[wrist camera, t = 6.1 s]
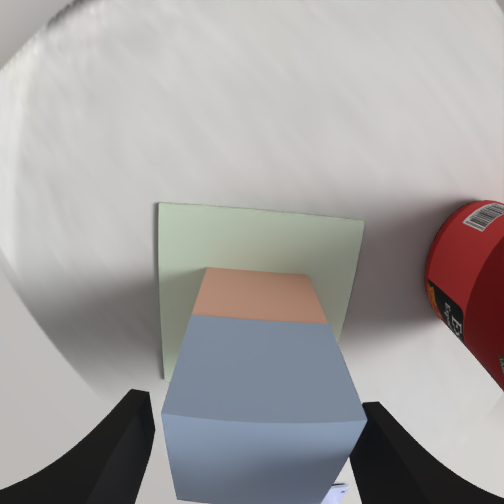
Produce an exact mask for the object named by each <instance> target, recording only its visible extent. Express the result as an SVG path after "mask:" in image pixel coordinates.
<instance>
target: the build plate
mask: <svg viewBox="0 0 504 504" xmlns="http://www.w3.org/2000/svg"><path fill="white" fill-rule="evenodd" d="M364 225H365V221H363V220H355V219H347V218H338V217H329V216H320V215H311V214H301V213H291V212H281V211H270V210H259V209H248V208H236V207H223V206H210V205H196V204H181V203H164V202H160V203H159V217H158V267H159V302H160V323H161V340H162V354H163V366H164V377H165V382H167V383H170V381H171V378H172V374H173V371H174V368H175V365H176V361H177V358H178V355H179V352H180V348H181V345H182V342H183V339H184V336H185V332H186V329H187V326H188V323H189V320H190V317H191V314H192V312H193V309H194V306H195V303H196V300H197V297H198V294H199V291H200V287H201V284H202V281H203V278H204V275H205V272H206V269H207V267H214V268H226V269H238V270H250V271H262V272H275V273H288V274H302V275H308V276H309V279H310V281H311V283H312V286H313V288H314V291H315V293H316V295H317V298H318V300H319V302H320V305H321V307H322V309H323V312H324V314H325V317H326V319H327V322H328V324H330V326H331V329H332V331H333V334H334V336H335V339H336V341H337V343H339V339H340V335H341V331H342V328H343V324H344V320H345V316H346V312H347V307H348V303H349V299H350V295H351V290H352V286H353V281H354V277H355V272H356V267H357V262H358V258H359V252H360V247H361V242H362V237H363V231H364Z"/></svg>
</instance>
